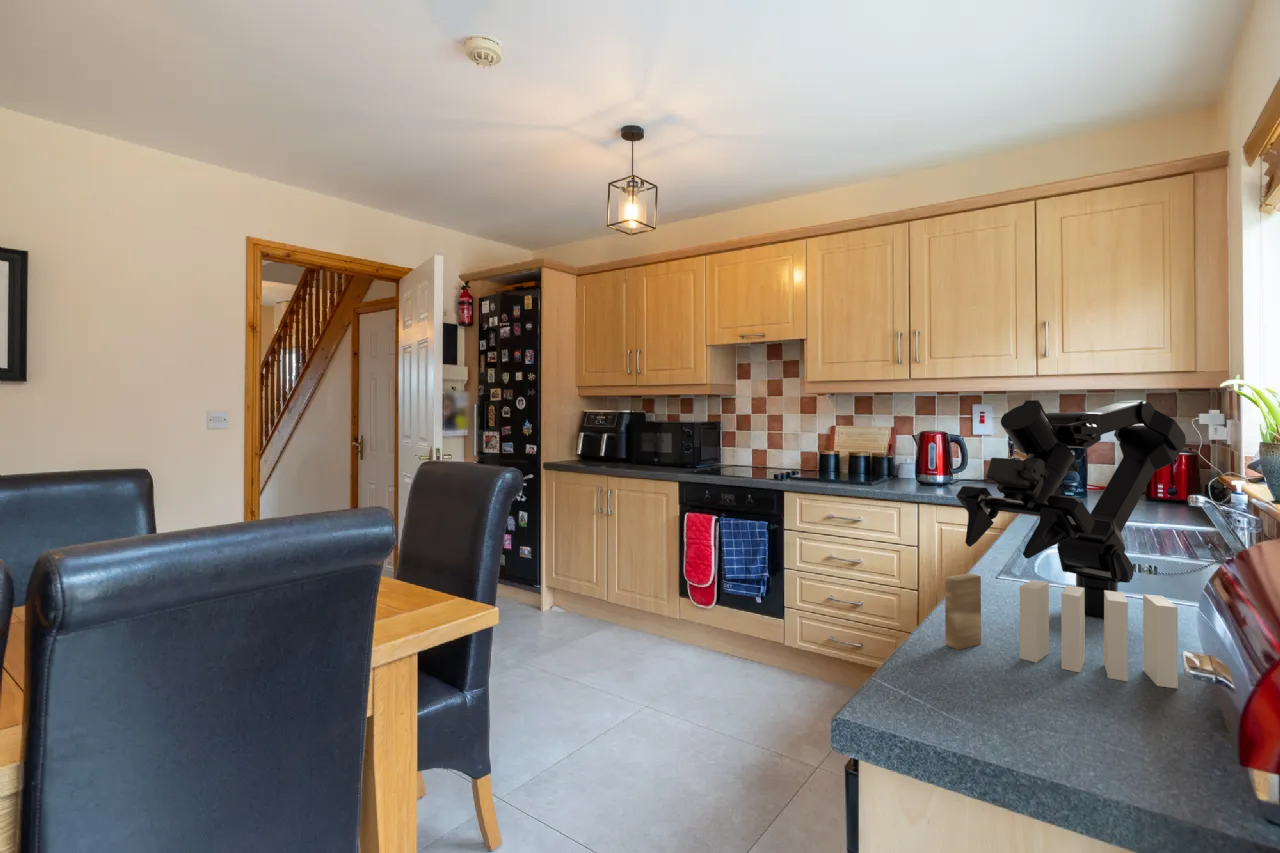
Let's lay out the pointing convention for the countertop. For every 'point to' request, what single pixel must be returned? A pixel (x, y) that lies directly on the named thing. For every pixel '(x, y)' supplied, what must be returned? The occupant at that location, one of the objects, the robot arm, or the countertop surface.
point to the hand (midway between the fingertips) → (995, 550)
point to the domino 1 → (963, 610)
